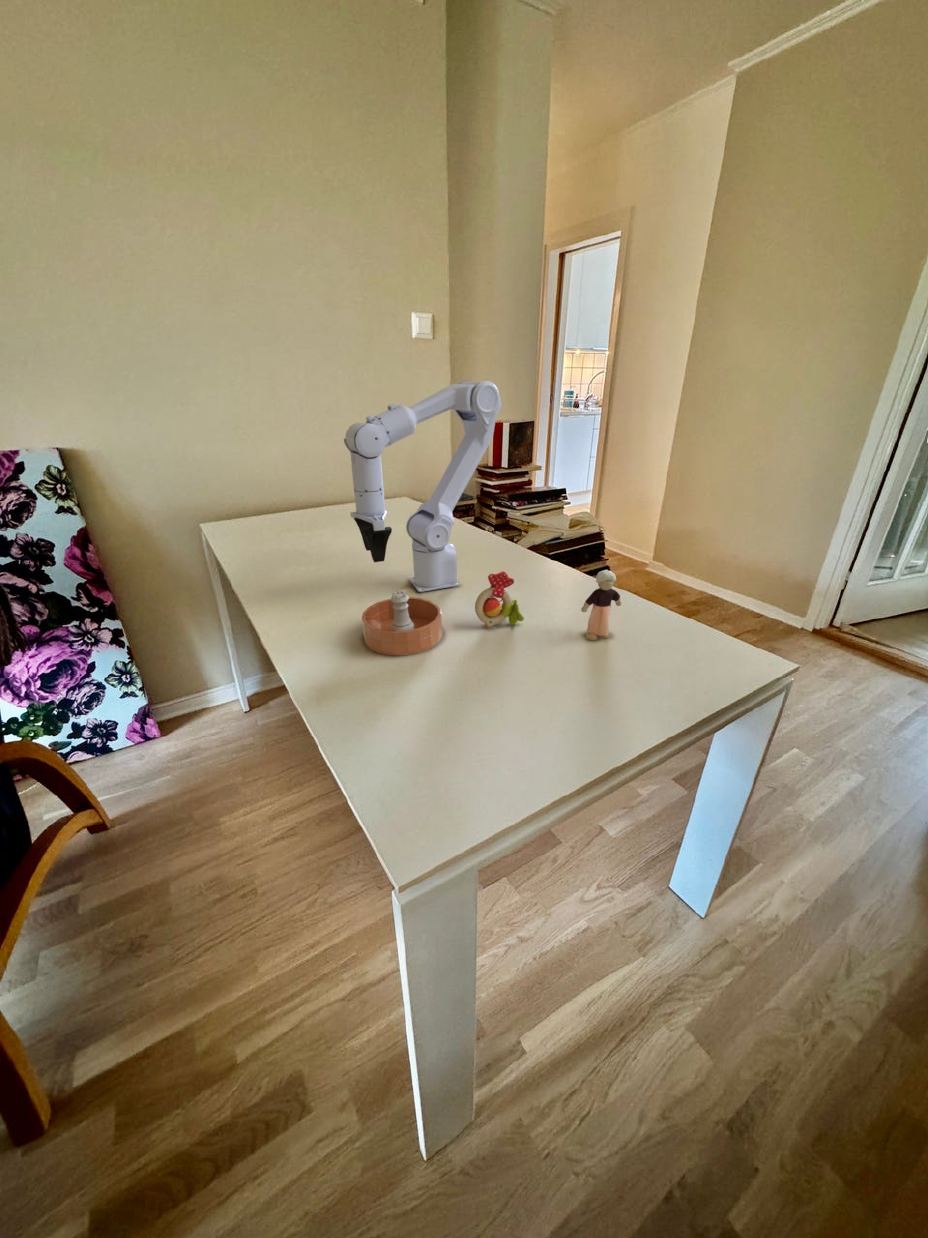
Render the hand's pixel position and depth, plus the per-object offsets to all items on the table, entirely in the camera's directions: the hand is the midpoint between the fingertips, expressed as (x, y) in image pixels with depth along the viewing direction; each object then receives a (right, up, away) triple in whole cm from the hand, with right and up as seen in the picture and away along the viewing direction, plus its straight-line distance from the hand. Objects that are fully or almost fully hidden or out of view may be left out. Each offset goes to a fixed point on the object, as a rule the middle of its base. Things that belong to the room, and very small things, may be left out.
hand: (374, 555), depth 100 cm
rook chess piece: (+7, -16, -11) cm, 21 cm away
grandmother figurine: (+43, -16, -12) cm, 48 cm away
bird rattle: (+25, -14, -8) cm, 30 cm away
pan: (+7, -16, -11) cm, 21 cm away
